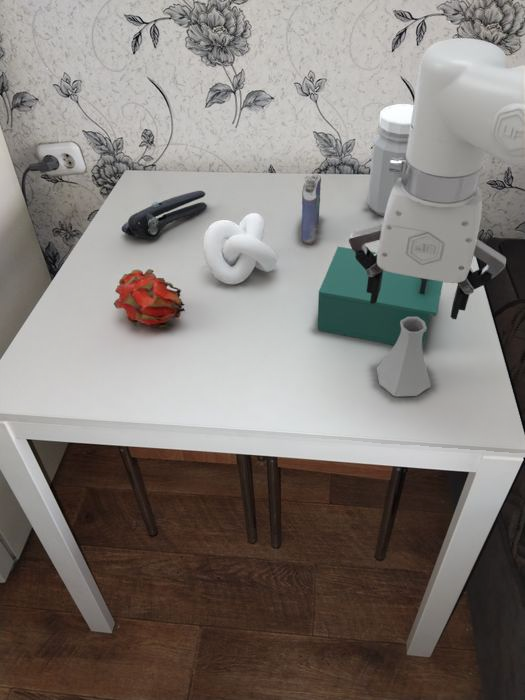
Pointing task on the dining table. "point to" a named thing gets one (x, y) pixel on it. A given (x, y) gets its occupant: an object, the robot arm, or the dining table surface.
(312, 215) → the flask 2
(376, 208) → the jar
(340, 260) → the lunchbox lid
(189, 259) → the dining table surface
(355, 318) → the box
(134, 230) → the can opener
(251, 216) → the white decorative knot
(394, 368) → the flask
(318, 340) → the dining table surface
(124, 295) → the dragon fruit
